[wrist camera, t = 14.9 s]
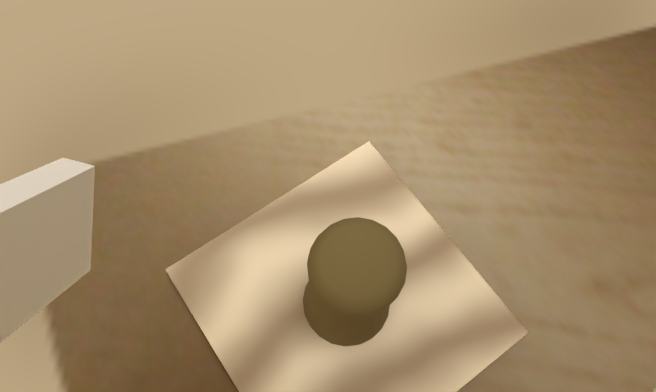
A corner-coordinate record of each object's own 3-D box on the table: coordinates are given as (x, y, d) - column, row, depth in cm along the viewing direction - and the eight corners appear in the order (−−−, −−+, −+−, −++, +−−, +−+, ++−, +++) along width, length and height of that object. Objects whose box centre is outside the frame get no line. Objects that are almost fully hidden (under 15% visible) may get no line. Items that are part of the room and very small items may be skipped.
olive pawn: (320, 247, 37) (323, 185, 26) (400, 276, 36) (434, 223, 26) (289, 327, 34) (279, 293, 24) (374, 359, 34) (400, 338, 23)
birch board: (520, 335, 36) (528, 332, 35) (311, 507, 32) (310, 511, 30) (367, 150, 41) (368, 141, 40) (170, 274, 37) (165, 269, 36)
